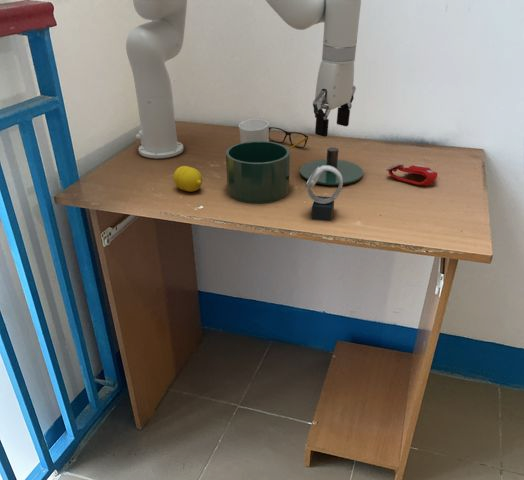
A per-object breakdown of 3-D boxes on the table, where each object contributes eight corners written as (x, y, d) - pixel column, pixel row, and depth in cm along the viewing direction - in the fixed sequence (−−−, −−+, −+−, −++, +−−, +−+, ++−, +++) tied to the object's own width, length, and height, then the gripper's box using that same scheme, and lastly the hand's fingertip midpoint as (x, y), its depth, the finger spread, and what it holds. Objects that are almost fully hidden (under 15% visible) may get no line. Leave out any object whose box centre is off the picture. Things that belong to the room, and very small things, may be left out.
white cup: (267, 168, 149) (265, 130, 142) (238, 167, 150) (235, 129, 144) (273, 155, 155) (271, 119, 148) (245, 154, 156) (242, 118, 149)
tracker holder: (424, 165, 147) (448, 169, 138) (420, 183, 148) (443, 188, 140) (384, 160, 142) (406, 164, 134) (381, 178, 144) (402, 183, 135)
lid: (287, 177, 144) (288, 151, 140) (321, 158, 154) (323, 134, 150) (341, 192, 137) (343, 166, 132) (374, 172, 146) (377, 146, 142)
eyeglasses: (309, 148, 160) (310, 134, 158) (281, 164, 151) (281, 149, 149) (268, 139, 167) (268, 125, 164) (239, 153, 158) (238, 139, 155)
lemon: (168, 189, 139) (165, 167, 136) (184, 182, 143) (182, 160, 139) (193, 198, 135) (191, 175, 131) (209, 190, 138) (207, 168, 135)
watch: (306, 207, 130) (308, 161, 123) (341, 210, 129) (345, 163, 122) (302, 218, 126) (304, 170, 119) (338, 221, 125) (342, 173, 118)
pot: (215, 192, 137) (212, 154, 131) (253, 173, 146) (252, 136, 140) (263, 208, 130) (263, 168, 124) (300, 187, 139) (302, 149, 133)
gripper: (344, 44, 135) (337, 118, 146) (303, 57, 124) (299, 136, 135) (372, 49, 131) (362, 124, 142) (332, 63, 121) (325, 143, 131)
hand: (332, 130), depth 138 cm, fingers open, 9 cm apart
